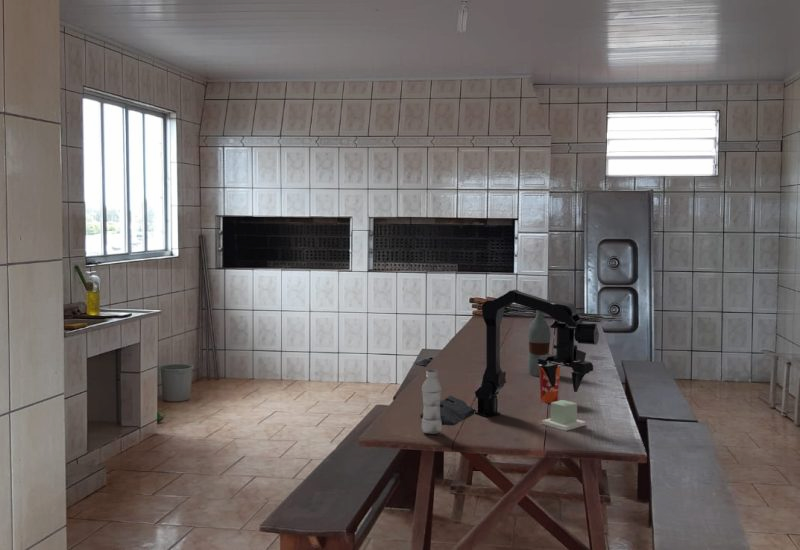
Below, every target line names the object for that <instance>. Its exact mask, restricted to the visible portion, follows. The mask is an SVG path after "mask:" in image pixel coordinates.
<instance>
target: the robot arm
mask: <svg viewBox="0 0 800 550" xmlns="http://www.w3.org/2000/svg"><path fill="white" fill-rule="evenodd" d="M513 304H517V305H520V306H522V307H526V308H530V309H532V310H535V311H537V310H538V311H541V312H543V314H547V315H548V316H549V317H550V318H552V319H553V320H554V322H553V323H552V324H551V325H549V328H550V329H556V339H555V340H556V344H554V345H553V349H555V354H552V353H551V354H550V353H549V354H546V355H541V356H539V358H538V364H540V365H541V367H542V368H543V370H544V371H545V373H546V375H547V377H548V379H549V381H550V383H551V386H552V387H555V382H556V369H557V367H558V365H561V366H560V367H566V368H567V367H568V368H571V370H572V371H571V378H572V387H573V388H572V389H573V392H574V393H578V391H579V389H580V388H579V387H580V386H581V383H582V380H583V379H584V377H585V375H587V374H590V373H591V372H593V371H594V364H593V363H592V362H591V361H586V360H585V359H586V357H587V356H586V355H587V352H585V351H582V350H580V349H578V345H577V344H575V342H577V343H578V344H583V345H594V346H597V345H598V343H599V337H600V332H599V328H598V327H597V326H598V324H597V323H596V322H592V323H591V322H589V323H587V322H584V321H583V320H582V318H581V317H580V316H579V314H578V311H577V308H576V306H575V305H574V303H570V302H565V301H554V300H553V301H552V300H548V299H544V298H541V297H538V296H536V295H532V294H530V293H526V292H522V291H520V290H518V289H511V290H509V291H508V292H506V293H505V294H503V295H500V296H498V297H496V298H492V299H488V300H485V301H484V302H483V303H482V305H481V314H482V319H483V322H484V324H485V326H486V327H485V328H486V329H485V331H486V336H485V337H486V339H485V340H486V342H485V343H486V344H485V345H486V347H485V348H486V355H485V357H486V358H485V359H486V361H485V362H486V366H485V370H484V372H483V375H482V380H481V386H480V387H479V388H478V389H477V390H475V391H474V394H475V397H476V399H477V410H476V411H475V413H474V414H477V415H478V416H479V415H480V416H483V417H486V418H487V417H488V418H489V417H493V416H497V415H500V414H501V412H500V411H498V407H499V406H498V404H499V403H498V396H497V395H499V394H500V391H501V390H502V389H503V388H504V387H505V384H507V380H506V374H507V372H506V371H505V370H504V371H502V367H501V357H500V356H501V323H502V320H503V318H504V314H505V309H506V308H507V307H510V306H511V305H513Z"/></svg>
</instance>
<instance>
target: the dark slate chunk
mask: <svg viewBox="0 0 800 550" xmlns="http://www.w3.org/2000/svg"><path fill="white" fill-rule="evenodd" d="M475 411H477V410H476V409H474V408H473V407H472V406H469V405H467V403H466V402H465V401H464V400H462V399H460V398H457V397H455V396H452V395H449V396H448V397H446V398H445V399H442V400H440V416H441V422H442V425H446V426H447V425H449V426H455V425H457V424H458V423H461V422H462V421H464V420H465V419H467V418H469V417H470V416H472V415H473V414H475V413H474V412H475ZM471 414H472V415H471ZM419 417H420V419H421V420H422V419H423V412H422V413H420V415H419Z"/></svg>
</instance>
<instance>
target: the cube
mask: <svg viewBox="0 0 800 550" xmlns="http://www.w3.org/2000/svg"><path fill="white" fill-rule="evenodd" d="M577 414H578V403H576V402H574V401H570V400H565V399H560V400H557V401H556V402H552V403H550V416H549V418H550V421H554V422H557V423H561V424H569V423H572V422H576V421H577V420H578V415H577Z"/></svg>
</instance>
